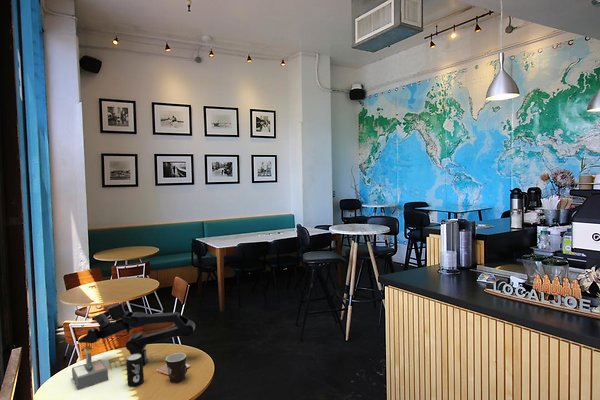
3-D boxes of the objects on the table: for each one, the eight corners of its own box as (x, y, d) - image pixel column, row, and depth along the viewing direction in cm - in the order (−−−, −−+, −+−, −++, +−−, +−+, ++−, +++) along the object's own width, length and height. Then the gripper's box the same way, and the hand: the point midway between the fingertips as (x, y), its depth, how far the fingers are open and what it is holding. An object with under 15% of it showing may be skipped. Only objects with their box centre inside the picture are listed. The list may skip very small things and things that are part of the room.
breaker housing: (101, 369, 191) (100, 359, 191) (108, 380, 181) (107, 368, 180) (72, 378, 184) (71, 367, 183) (78, 389, 173) (77, 378, 173)
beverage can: (128, 388, 173) (126, 361, 172) (127, 382, 178) (125, 355, 178) (144, 384, 176) (143, 357, 175) (143, 378, 181) (141, 352, 181)
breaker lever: (90, 364, 185) (89, 345, 184) (93, 368, 180) (91, 349, 180) (85, 366, 183) (84, 347, 183) (88, 370, 179) (86, 350, 178)
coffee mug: (166, 377, 181) (164, 355, 181) (186, 372, 185) (184, 351, 184) (168, 389, 171) (167, 366, 170) (189, 384, 174) (188, 362, 173)
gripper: (118, 309, 203) (87, 320, 202) (102, 313, 185) (68, 325, 183) (124, 330, 202) (94, 342, 200) (109, 336, 183) (75, 349, 182)
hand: (83, 339), depth 191 cm, fingers open, 9 cm apart
